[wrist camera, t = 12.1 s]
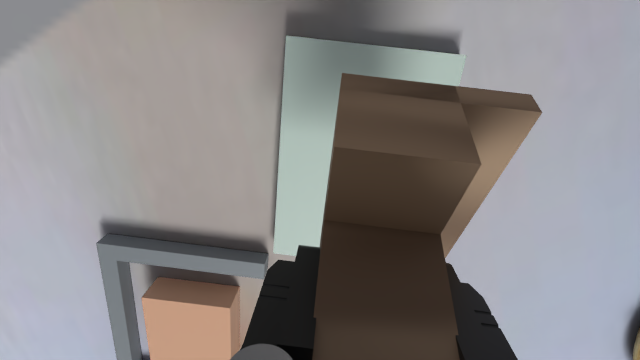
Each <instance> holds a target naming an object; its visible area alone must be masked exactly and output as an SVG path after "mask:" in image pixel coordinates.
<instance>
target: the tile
mask: <svg viewBox="0 0 640 360" xmlns="http://www.w3.org/2000/svg"><path fill="white" fill-rule="evenodd" d="M142 304H143V311H144V318H145V325H146V332H147V339H148V346H149V353H150V360H230V359H231V358H232V357H233V356H234V354H236V353H237V352H238V351H239V348H240V286H231V285H223V284H214V283H206V282H197V281H189V280H180V279H172V278H164V277H158V278H157V279H156V280H155V281H154V283H153V284H152V285H151V286H150V288H149V289H148V290H147V291H146V293H145V294H144V295H143V296H142Z"/></svg>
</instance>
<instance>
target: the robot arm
mask: <svg viewBox="0 0 640 360" xmlns="http://www.w3.org/2000/svg"><path fill="white" fill-rule="evenodd" d="M320 249H321V247H313V246H305V245H299V246H298V250H297V255H296V259H295V262H292V261H284V260H278V261H277V262H276V263H275V264H273V265H272V266H271V267H270V268H269V269H268V270H267V273H266V276H265V279H264V282H263V286H262V288H261V291H260V295H259V298H258V301H257V304H256V307H255V310H254V313H253V316H252V319H251V322H250V325H249V328H248V331H247V334H246V337H245V340H244V343H243V345H242V348H241V349H240V351H238V352H237V353H236V354H234V356H233V357H232V358H231V359H230V360H312V356H313V349H314V338H315V327H316V318H314V317H313V316H314V307H315V297H316V287H317V278H318V268H319V259H320ZM446 268H447V273H448V279H449V285H450V290H451V296H452V301H453V307H454V313H455V318H456V324H457V329H458V335H455V336H456V341H457V347H458V353H459V359H460V360H518V359H517V357H516V356H515V354H514V352H513V350H512V349H511V347H510V345H509V343H508V341H507V340H506V338H505V336H504V334H503V332H502V331H501V329H500V328H498V323H497V322H496V320H495V318H494V316H493V315H491V311H490V309H489V307H488V306H487V304H486V302H485V300H484V298H483V297H482V296H481V295H480V294H479V293H478V292H477V291H476V290H475V289H474V288H473V287H472V286H470V285H469V284H468V283H460V281H459V279H458V277H457V275H456V273H455V271H454V269H453V267H452V265H451V264H449V263H446Z"/></svg>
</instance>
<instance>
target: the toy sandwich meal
mask: <svg viewBox="0 0 640 360" xmlns="http://www.w3.org/2000/svg"><path fill="white" fill-rule="evenodd" d="M633 360H640V328H639V330H638V333H637V336H636V341H635V344H634V349H633Z"/></svg>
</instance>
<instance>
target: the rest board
mask: <svg viewBox="0 0 640 360" xmlns="http://www.w3.org/2000/svg"><path fill="white" fill-rule="evenodd" d="M465 59H466V55H459V54H450V53H441V52H432V51H423V50H414V49H405V48H396V47H386V46H377V45H368V44H359V43H350V42H341V41H332V40H323V39H314V38H305V37H295V36H286V45H285V62H284V79H283V96H282V114H281V131H280V148H279V165H278V182H277V200H276V217H275V234H274V251H273V253H276V254H284V255H292V256H296V255H297V250H298V246H299V245H305V246H313V247H320V239H321V231H322V223H323V215H324V208H325V200H326V192H327V185H328V177H329V169H330V161H331V154H332V146H333V138H334V130H335V123H336V115H337V107H338V99H339V92H340V84H341V76H342V73H347V74H356V75H365V76H373V77H382V78H391V79H399V80H408V81H416V82H425V83H434V84H442V85H451V86H459V83H460V79H461V75H462V71H463V67H464V63H465Z"/></svg>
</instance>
